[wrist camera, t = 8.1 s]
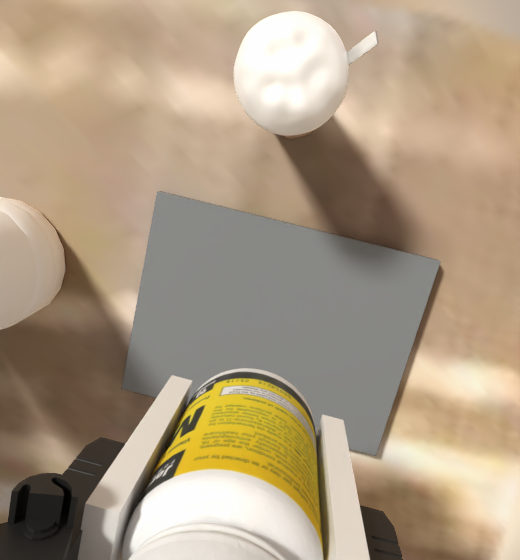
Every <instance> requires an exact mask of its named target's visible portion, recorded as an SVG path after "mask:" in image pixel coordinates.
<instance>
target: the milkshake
mask: <svg viewBox="0 0 520 560" xmlns="http://www.w3.org/2000/svg"><path fill="white" fill-rule="evenodd" d="M377 44H378V36H377V31H376V30H375V31H373V32H372V33H371V34H369V35H368V36H367V37H366V38H364V39H363V40H362V41H360V42H359V43H358V44H356V45H355V46H354V47H353V48H351V49H350V50H349V51H347V52H346V50H345V47H344V45H343V43H342V41H341V39H340V37H339V35H338V34H337V32H336V31H335V30H334V29H333V28H332V27H331V26H330V25H329V24H328V23H326V22H325V21H323V20H322V19H320V18H318V17H316V16H314V15H312V14H309V13H305V12H300V11H291V12H284V13H279V14H275V15H272V16H269V17H267V18H265V19H263V20H261V21H260V22H258V23H257V24H256V25H255V26H253V27H252V28H251V29H250V30H249V32H248V33H247V34H246V36H245V37H244V39H243V41H242V44H241V46H240V49H239V51H238V54H237V57H236V61H235V65H234V84H235V89H236V93H237V96H238V99H239V101H240V104H241V106H242V107H243V109H244V111H245V112H246V113H247V115H248V116H249V117H250V118H251V119H252V120H253V121H254V122H255V123H256V124H257V125H259V126H260V127H261V128H263V129H265V130H267V131H269V132H271V133H274V134H278V135H282V136H284V137H286V138H289V139H293V138H297V137H301V136H305V135H308V134H309V133H310V132H312V131H313V130H315V129H317V128H319V127H320V126H322V125H323V124H324V123H325V122H327V121H328V120H329V119H330V117H331V116H332V115H333V114H334V113H335V112H336V110H337V109H338V107H339V106H340V104H341V103H342V101H343V99H344V97H345V94H346V91H347V88H348V82H349V65H350V64H351V63H352V62H354V61H355V60H357V59H358V58H359V57H361V56H362V55H364V54H365V53H366V52H368V51H369V50H371V49H372V48H373V47H375V46H376V45H377Z"/></svg>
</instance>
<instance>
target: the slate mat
mask: <svg viewBox="0 0 520 560" xmlns="http://www.w3.org/2000/svg"><path fill="white" fill-rule="evenodd" d="M439 265H440V261H438V260H437V259H433V258H429V257H425V256H421V255H417V254H413V253H408V252H404V251H400V250H396V249H392V248H388V247H384V246H380V245H376V244H372V243H368V242H364V241H360V240H356V239H352V238H348V237H344V236H340V235H336V234H332V233H328V232H323V231H319V230H315V229H311V228H307V227H303V226H299V225H295V224H291V223H287V222H283V221H279V220H275V219H271V218H267V217H263V216H259V215H255V214H251V213H247V212H243V211H239V210H234V209H230V208H226V207H222V206H218V205H214V204H210V203H206V202H202V201H198V200H194V199H190V198H186V197H182V196H178V195H174V194H170V193H166V192H162V191H160V192H157V196H156V201H155V207H154V212H153V218H152V223H151V229H150V234H149V240H148V245H147V251H146V256H145V262H144V267H143V273H142V278H141V284H140V289H139V295H138V300H137V305H136V311H135V316H134V322H133V327H132V333H131V338H130V344H129V349H128V355H127V360H126V366H125V371H124V377H123V382H122V388H121V389H124V390H128V391H132V392H136V393H139V394H143V395H147V396H151V397H155V398H157V396H158V395H159V394H160V392H161V391H162V389H163V388H164V386H165V385H166V383H167V382H168V380H169V379H170V377H171V376H172V375H173V376H177V377H181V378H185V379H189V380H192V385H191V389H190V394H189V399H188V403H189V401H190V399H191V398H192V396H193V395H194V393H195V392H196V391H197V390H198V389H199V388H200V387H201V386H202V385H203V384H204V383H205V382H206V381H208V380H209V379H210V378H212V377H214V376H216V375H218V374H220V373H222V372H225V371H229V370H233V369H240V368H251V369H259V370H264V371H268V372H271V373H273V374H276V375H278V376H280V377H282V378H284V379H285V380H287V381H288V382H289V383H291V384H292V385H293V386H294V387H295V388H296V389H297V390H298V391H299V392H300V393H301V394H302V395H303V397H304V398H305V400H306V401H307V403H308V405H309V407H310V409H311V412H312V415H313V419H314V424H315V432H316V434H317V431H318V428H319V424H320V421H321V417H322V414H323V415H326V416H330V417H334V418H338V419H342V420H344V426H345V431H346V436H347V441H348V447H349V449H351V450H355V451H359V452H362V453H366V454H370V455H374V456H376V453H377V450H378V447H379V444H380V441H381V438H382V435H383V432H384V429H385V426H386V423H387V421H388V418H389V415H390V412H391V409H392V406H393V403H394V400H395V397H396V394H397V391H398V388H399V385H400V382H401V379H402V376H403V373H404V370H405V367H406V364H407V361H408V358H409V355H410V352H411V349H412V346H413V343H414V340H415V337H416V334H417V331H418V328H419V325H420V322H421V319H422V316H423V313H424V310H425V307H426V304H427V301H428V298H429V295H430V292H431V289H432V286H433V283H434V280H435V277H436V274H437V271H438V268H439ZM188 403H187V404H188Z"/></svg>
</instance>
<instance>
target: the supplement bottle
mask: <svg viewBox="0 0 520 560" xmlns="http://www.w3.org/2000/svg"><path fill="white" fill-rule="evenodd" d="M122 560H324V559H323V543H322V531H321V516H320V502H319V485H318V465H317V447H316V432H315V424H314V419H313V415H312V412H311V409H310V407H309V405H308V403H307V401H306V400H305V398H304V397H303V395H302V394H301V393H300V392H299V391H298V390H297V389H296V388H295V387H294V386H293V385H292V384H291V383H289V382H288V381H287V380H285V379H284V378H282V377H280V376H278V375H276V374H273V373H271V372H268V371H264V370H259V369H251V368H240V369H233V370H229V371H225V372H222V373H220V374H218V375H216V376H214V377H212V378H210V379H209V380H208V381H206V382H205V383H204V384H203V385H202V386H201V387H200V388H199V389H198V390H197V391H196V392H195V393H194V395H193V396H192V398H191V399H190V401H189V403H188V404H187V406H186V408H185V410H184V412H183V414H182V416H181V419H180V421H179V423H178V424H177V426H176V428H175V430H174V433H173V434H172V436H171V438H170V440H169V442H168V444H167V446H166V448H165V450H164V452H163V454H162V456H161V458H160V460H159V462H158V464H157V466H156V468H155V470H154V472H153V474H152V476H151V478H150V480H149V482H148V483H147V486H146V488H145V490H144V492H143V494H142V495H141V497H140V498H139V501H138V503H137V505H136V506H135V508H134V511H133V513H132V515H131V517H130V519H129V522H128V526H127V529H126V531H125V536H124V540H123V548H122Z"/></svg>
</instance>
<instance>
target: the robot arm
mask: <svg viewBox="0 0 520 560" xmlns="http://www.w3.org/2000/svg"><path fill="white" fill-rule="evenodd" d="M191 385H192V380H189V379H185V378H181V377H177V376H173V375H172V376H171V377H170V379H169V380H168V382H167V383H166V385H165V386H164V388H163V389H162V391H161V392H160V394H159V395H158V396H157V398H156V399H155V401H154V402H153V404H152V405H151V407H150V408H149V410H148V411H147V413H146V414H145V416H144V417H143V419H142V420H141V422H140V423H139V425H138V426H137V428H136V429H135V430H134V432H133V433H132V435H131V436H130V438H129V439H128V441H127V442H126V444H124V443H120V442H117V441H113V440H109V439H105V438H102V437H101V438H99V439H98V440H96V441H94V442H92V443H90V444H88V445H87V446H86V447H85V448H84V449H83V450H82V451H81V453H80V454H79V455H78V456H77V458H76V460H74V461H73V462H72V464H71V465H70V466H69V468H68V470H66V471H65V472H64V473H63V475H60V474H56V473H42V474H38V475H35V476H31V477H29V478H27V479H25V480H23V481H22V482H20V483H19V484H18V485H17V486H16V487H15V488H14V489H13V491H12V494H11V502H10V510H9V517H8V522H6V523H2V524H0V560H122V548H123V540H124V536H125V531H126V529H127V526H128V522H129V519H130V517H131V515H132V513H133V511H134V508H135V506H136V505H137V503H138V501H139V498H140V497H141V495H142V494H143V492H144V490H145V488H146V486H147V483H148V482H149V480H150V478H151V476H152V474H153V472H154V470H155V468H156V466H157V464H158V462H159V460H160V458H161V456H162V454H163V452H164V450H165V448H166V446H167V444H168V442H169V440H170V438H171V436H172V434H173V433H174V430H175V428H176V426H177V424H178V423H179V421H180V419H181V416H182V414H183V412H184V410H185V408H186V406H187V403H188V399H189V394H190V389H191ZM316 447H317V465H318V485H319V502H320V516H321V531H322V543H323V559H324V560H403V559H402V554H401V551H400V547H399V546H398V540H397V536H396V533H395V529H394V526H393V525H392V524H391V522H390V521H389V519H388V518H387V517H386V515H385V514H384V512H383V511H379V510H375V509H372V508H368V507H364V506H360V505H359V499H358V494H357V489H356V484H355V478H354V473H353V468H352V462H351V457H350V452H349V447H348V441H347V436H346V431H345V426H344V420H342V419H338V418H334V417H330V416H326V415H323V414H322V417H321V421H320V424H319V428H318V431H317V434H316Z"/></svg>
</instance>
